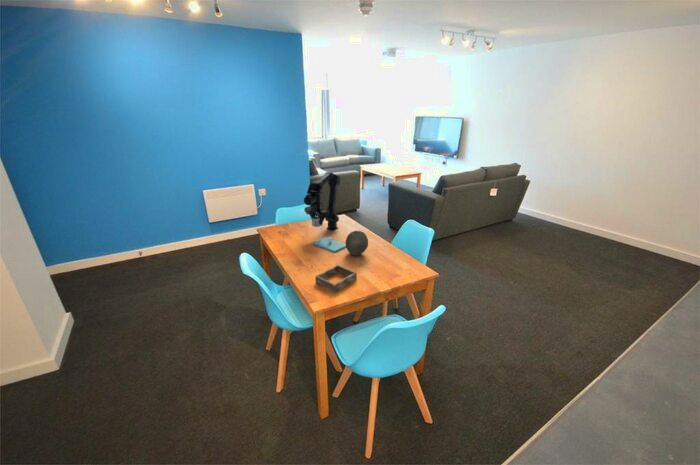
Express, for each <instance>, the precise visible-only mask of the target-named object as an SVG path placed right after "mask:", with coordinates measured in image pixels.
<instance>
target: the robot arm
mask: <svg viewBox="0 0 700 465" xmlns="http://www.w3.org/2000/svg"><path fill="white" fill-rule="evenodd" d="M326 183H328V186H329V197H328V207H327V208H326V209H324V210H323V208H322V206H321V205H322V204H323V202H321V201H322V200H321V195H322V190H323V188H324V187H323V186H324V185H325V184H326ZM340 183H341V177H340V176H339V175H337V174H334V172H328V171H326V172H325V173H324V174H322V176H320V178H318V179H317V180H313V181H311V182H310V183H309V185H308V189H307V192H306V193H307V194H305V197H304V198H303V203H304V204H305V205H307V206H306V207H304V212H305V214H306V215H309V216H310V217H309V218H310V219H311V220H312V217H315V216H316V214H318V215H317V216H318V217H319V218H320V225H322V226H323V223H324V221H325V222H326V221H327V227H326V229H327V230H330V231H335V230H338V229H339V227H338V222H339V221H340V218H339V216H338V214H337V213H338V212H337V209H336V200H337V190H338V188H339V186H340Z"/></svg>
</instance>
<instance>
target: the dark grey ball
mask: <svg viewBox="0 0 700 465" xmlns="http://www.w3.org/2000/svg"><path fill="white" fill-rule="evenodd" d="M345 244H346V249H347V251H348V253H349V254H351V255H354V256H358V255H362V254H364V252H365V251H366V250H367V248H368V246H369V239H368V236H367V234H366V233H365V232H363V231H361V230H353V231H351V232H349V234H348V235H347V236H346V238H345Z"/></svg>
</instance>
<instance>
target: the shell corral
mask: <svg viewBox="0 0 700 465" xmlns="http://www.w3.org/2000/svg"><path fill="white" fill-rule="evenodd" d="M337 273H338V274H341V275H343V276H346V277H344V278H343V279H341V280H339V281H338V282H336V283H334V282H331V281H329V280H327V279H329V278H330V277H332V276H334V275H336V274H337ZM357 276H358V274H357V272H356V271H354V270H352V269H350V268H346V267H344V266H342V265H339V264H336V265H334V266H333V267H331V268H329V269H326V270H325V271H323V272H321V273H319V274H316V275H315V284H316V285H318V286H321V287H322V288H325V289H326V290H329V291H331V292H332V293H338V291H340V290H342V289H344V288H345V287H347V286H349V285H350V284H352V283H353V282H354V281H356V280H357V278H358V277H357Z"/></svg>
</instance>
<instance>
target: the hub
mask: <svg viewBox="0 0 700 465" xmlns="http://www.w3.org/2000/svg"><path fill="white" fill-rule="evenodd" d="M318 216H319V215H315V217H312V219H311V226H312V227H314V228H319V227H322V226H323V224H322V225H320V218H319V217H318Z"/></svg>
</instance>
